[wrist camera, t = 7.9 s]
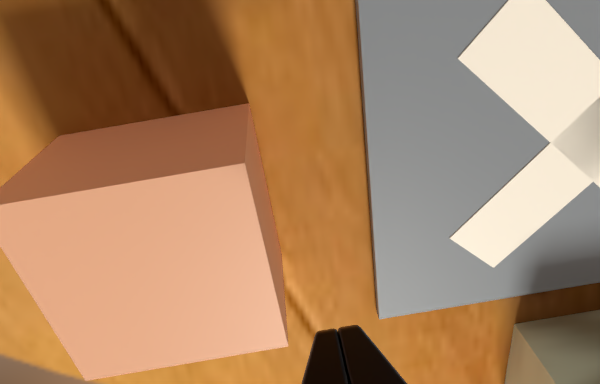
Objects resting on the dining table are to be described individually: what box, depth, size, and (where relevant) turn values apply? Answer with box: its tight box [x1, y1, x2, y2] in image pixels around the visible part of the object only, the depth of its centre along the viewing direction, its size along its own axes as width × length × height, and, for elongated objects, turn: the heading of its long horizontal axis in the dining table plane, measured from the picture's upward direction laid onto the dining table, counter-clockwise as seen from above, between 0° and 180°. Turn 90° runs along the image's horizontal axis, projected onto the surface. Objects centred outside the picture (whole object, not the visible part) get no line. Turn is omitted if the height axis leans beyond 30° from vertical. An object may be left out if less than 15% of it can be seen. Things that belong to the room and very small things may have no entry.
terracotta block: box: [0, 103, 288, 381], centre depth 13 cm, size 6×6×4 cm
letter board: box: [355, 0, 600, 319], centre depth 14 cm, size 16×14×1 cm
